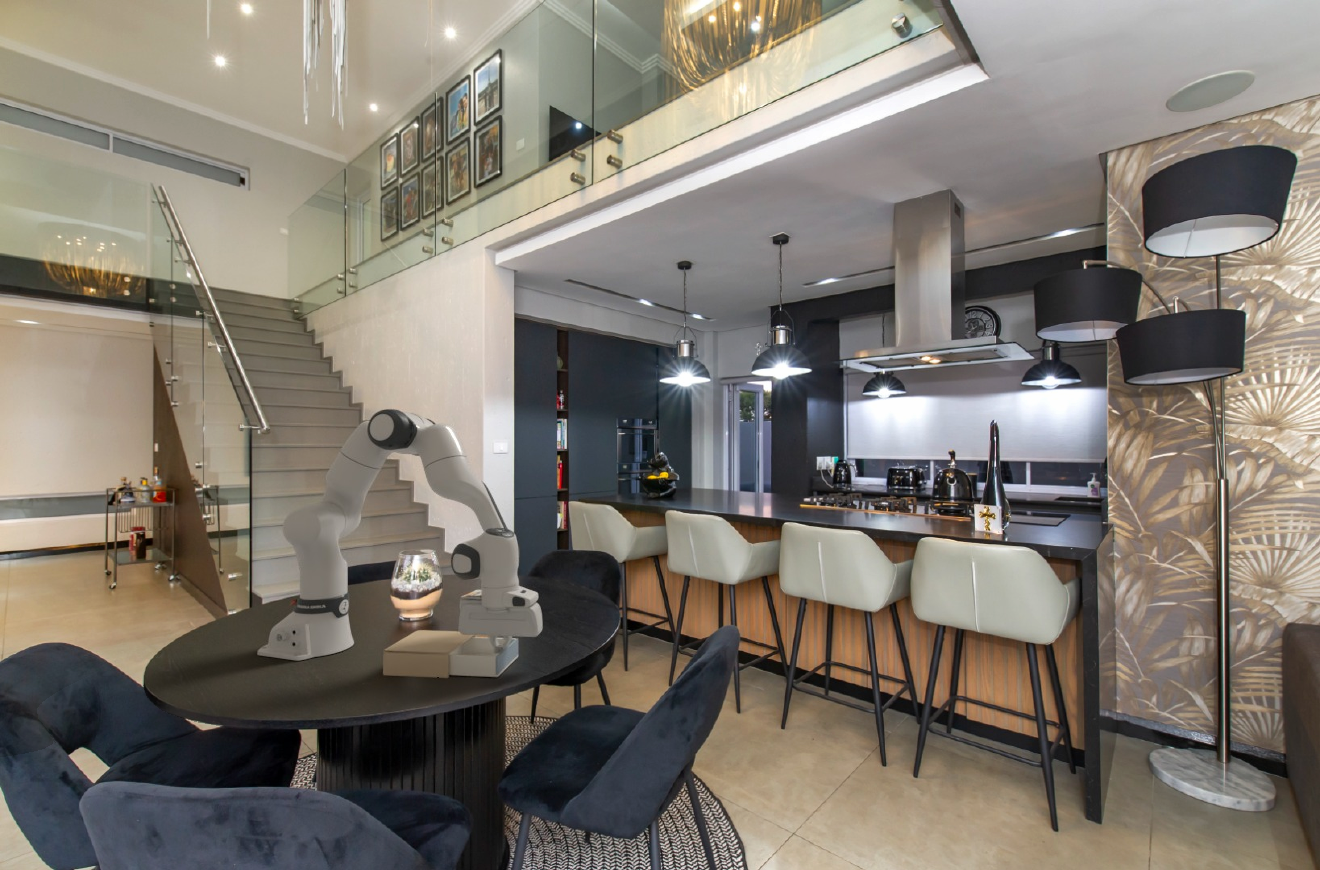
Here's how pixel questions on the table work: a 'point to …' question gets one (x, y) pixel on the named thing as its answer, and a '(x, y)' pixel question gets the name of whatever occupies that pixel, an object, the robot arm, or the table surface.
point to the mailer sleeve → (422, 654)
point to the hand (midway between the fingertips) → (500, 653)
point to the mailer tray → (481, 657)
